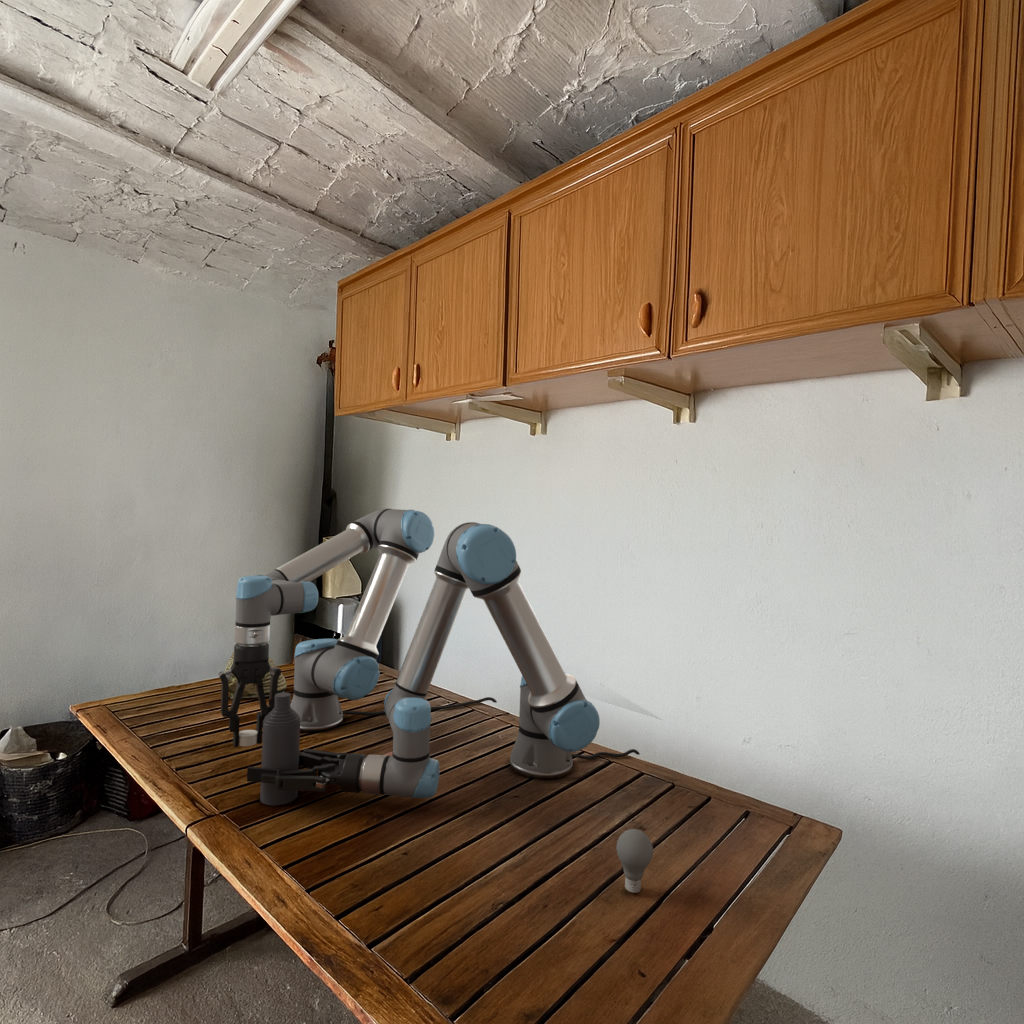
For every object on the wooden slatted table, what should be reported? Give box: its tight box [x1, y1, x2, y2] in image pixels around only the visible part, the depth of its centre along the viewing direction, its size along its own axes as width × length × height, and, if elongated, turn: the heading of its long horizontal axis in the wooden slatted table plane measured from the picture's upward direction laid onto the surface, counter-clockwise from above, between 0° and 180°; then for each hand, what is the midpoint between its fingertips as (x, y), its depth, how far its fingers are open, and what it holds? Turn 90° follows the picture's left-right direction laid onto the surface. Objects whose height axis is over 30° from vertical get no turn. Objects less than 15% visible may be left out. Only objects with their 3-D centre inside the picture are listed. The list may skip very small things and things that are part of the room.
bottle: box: [259, 691, 301, 806], centre depth 133 cm, size 7×7×22 cm
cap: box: [238, 729, 258, 747], centre depth 147 cm, size 4×4×2 cm
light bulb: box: [615, 828, 654, 894], centre depth 106 cm, size 6×6×10 cm
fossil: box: [224, 651, 288, 699], centre depth 198 cm, size 9×18×15 cm, turn 132°
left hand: (247, 743), depth 147 cm, fingers closed on cap, 4 cm apart
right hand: (257, 765), depth 133 cm, fingers closed on bottle, 7 cm apart
